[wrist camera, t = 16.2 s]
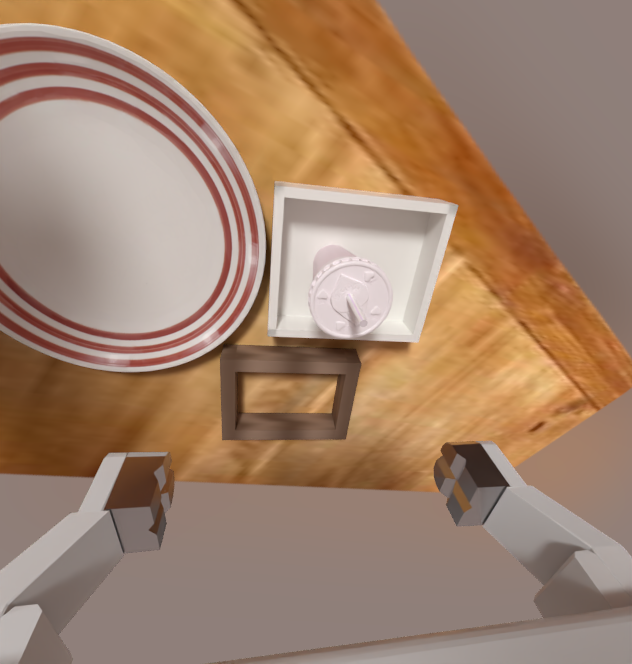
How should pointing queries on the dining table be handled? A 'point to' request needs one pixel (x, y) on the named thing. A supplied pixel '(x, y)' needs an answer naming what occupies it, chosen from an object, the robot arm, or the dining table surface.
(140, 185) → the dinner plate
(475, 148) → the dining table surface
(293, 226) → the tray
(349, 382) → the socket block
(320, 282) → the smoothie
